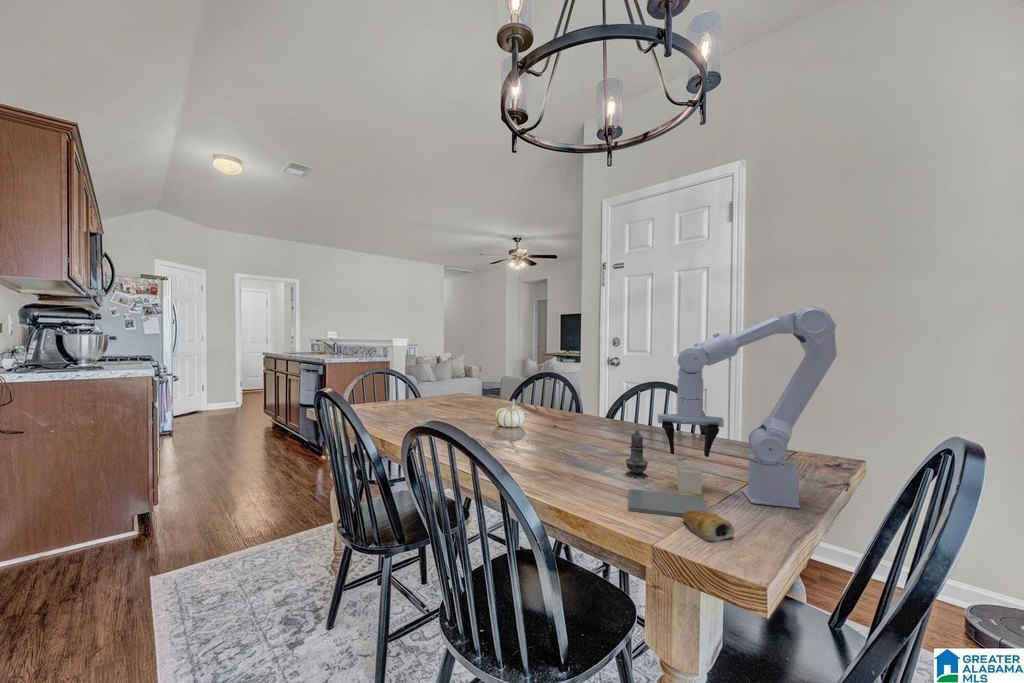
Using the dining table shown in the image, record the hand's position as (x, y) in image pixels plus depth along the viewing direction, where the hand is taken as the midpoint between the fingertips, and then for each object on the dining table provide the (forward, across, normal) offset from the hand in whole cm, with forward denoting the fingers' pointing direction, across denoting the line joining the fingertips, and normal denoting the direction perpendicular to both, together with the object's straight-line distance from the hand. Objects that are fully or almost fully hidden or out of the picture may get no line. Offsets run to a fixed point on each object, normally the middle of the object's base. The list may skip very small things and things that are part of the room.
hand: (689, 454), depth 102 cm
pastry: (+9, 0, +23) cm, 25 cm away
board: (+8, +6, +12) cm, 16 cm away
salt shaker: (+9, +12, -7) cm, 16 cm away
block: (+8, 0, 0) cm, 9 cm away
